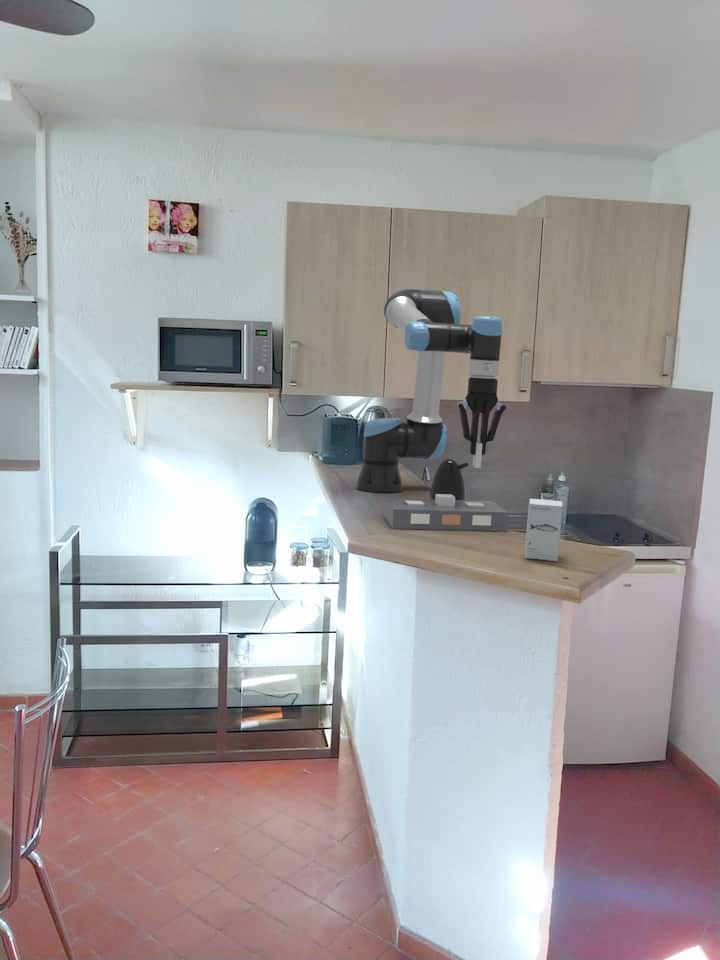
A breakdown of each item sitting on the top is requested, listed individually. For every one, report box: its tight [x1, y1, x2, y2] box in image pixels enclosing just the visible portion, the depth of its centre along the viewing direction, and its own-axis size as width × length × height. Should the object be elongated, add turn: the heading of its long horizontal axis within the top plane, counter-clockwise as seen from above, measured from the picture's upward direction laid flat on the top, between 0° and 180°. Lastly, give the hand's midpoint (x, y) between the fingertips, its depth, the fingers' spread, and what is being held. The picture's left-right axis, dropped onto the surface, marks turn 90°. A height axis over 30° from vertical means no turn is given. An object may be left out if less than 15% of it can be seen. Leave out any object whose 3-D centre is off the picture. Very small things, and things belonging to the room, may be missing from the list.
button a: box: [405, 501, 425, 506], centre depth 208 cm, size 4×4×4 cm
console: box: [382, 497, 510, 532], centre depth 209 cm, size 16×30×5 cm, turn 96°
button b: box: [435, 494, 455, 507], centre depth 209 cm, size 4×4×4 cm
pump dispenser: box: [429, 458, 469, 500], centre depth 227 cm, size 10×10×15 cm
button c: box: [464, 502, 485, 508], centre depth 210 cm, size 4×4×4 cm
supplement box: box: [524, 498, 564, 563], centre depth 177 cm, size 7×7×13 cm
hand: (476, 467), depth 209 cm, fingers closed
